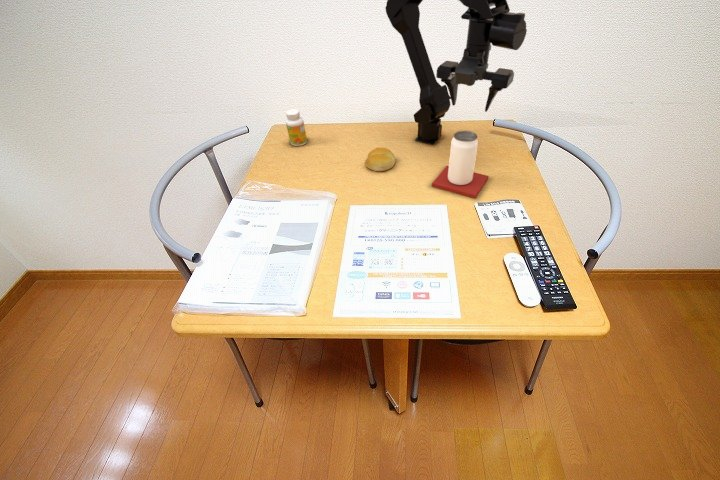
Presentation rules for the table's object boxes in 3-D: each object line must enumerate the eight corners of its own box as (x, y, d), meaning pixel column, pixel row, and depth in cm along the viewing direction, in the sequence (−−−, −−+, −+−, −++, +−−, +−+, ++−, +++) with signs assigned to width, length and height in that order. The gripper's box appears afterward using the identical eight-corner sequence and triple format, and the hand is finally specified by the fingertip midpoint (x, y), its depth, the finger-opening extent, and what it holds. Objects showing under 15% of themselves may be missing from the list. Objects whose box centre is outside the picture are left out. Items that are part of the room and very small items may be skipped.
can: (471, 187, 93) (478, 142, 84) (446, 185, 94) (450, 141, 85) (472, 173, 97) (479, 130, 89) (448, 171, 98) (452, 129, 90)
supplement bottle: (287, 145, 115) (279, 114, 108) (296, 137, 118) (289, 107, 111) (301, 147, 113) (295, 116, 106) (310, 139, 117) (304, 109, 110)
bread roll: (363, 171, 102) (362, 158, 99) (369, 155, 108) (369, 143, 105) (392, 173, 101) (392, 160, 98) (397, 157, 107) (397, 144, 104)
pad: (431, 186, 96) (431, 183, 95) (446, 168, 102) (446, 165, 101) (475, 198, 91) (475, 195, 90) (488, 179, 97) (488, 175, 96)
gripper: (428, 47, 86) (425, 113, 97) (506, 57, 79) (493, 126, 90) (447, 35, 92) (442, 98, 104) (521, 43, 85) (507, 110, 97)
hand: (469, 108), depth 98 cm, fingers open, 9 cm apart
